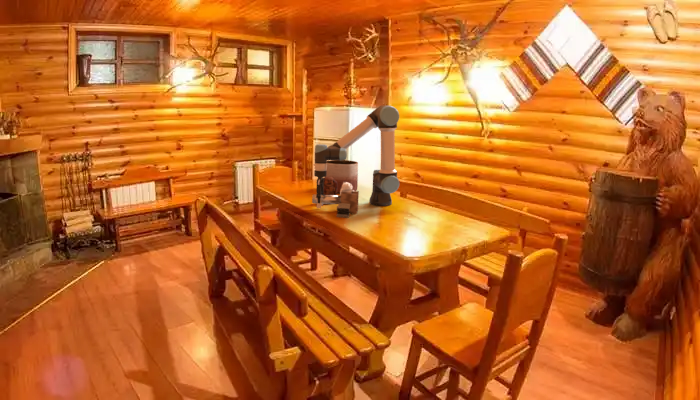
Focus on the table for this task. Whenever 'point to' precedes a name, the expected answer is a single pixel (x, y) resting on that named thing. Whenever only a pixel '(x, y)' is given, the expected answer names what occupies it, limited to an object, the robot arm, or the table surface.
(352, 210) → the brown open box
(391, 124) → the robot arm
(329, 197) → the axle
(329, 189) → the wooden figurine
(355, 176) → the planter
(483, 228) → the table surface
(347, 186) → the figurine
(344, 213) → the v block
